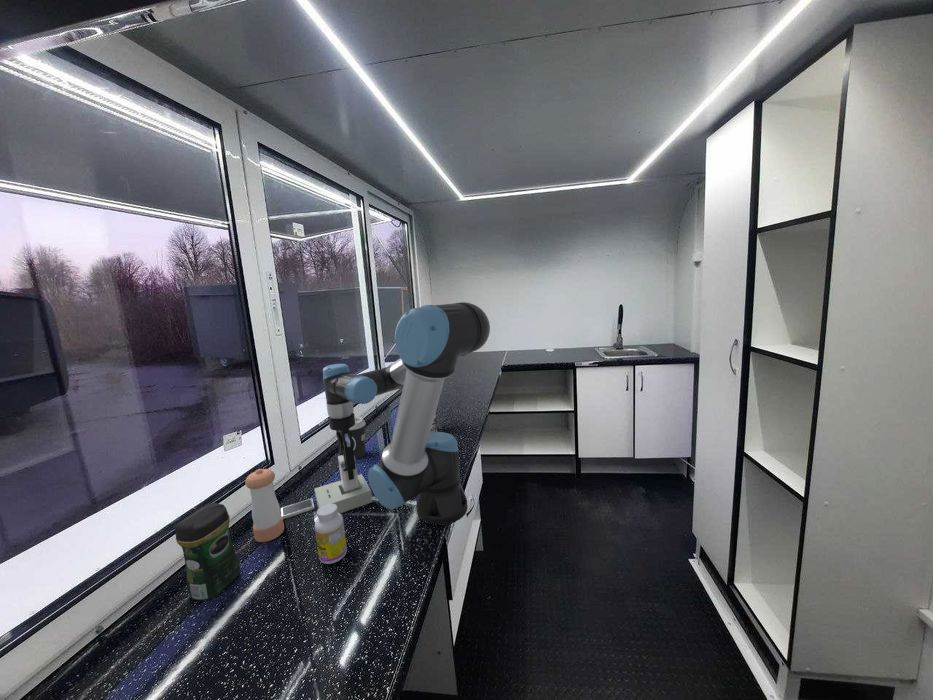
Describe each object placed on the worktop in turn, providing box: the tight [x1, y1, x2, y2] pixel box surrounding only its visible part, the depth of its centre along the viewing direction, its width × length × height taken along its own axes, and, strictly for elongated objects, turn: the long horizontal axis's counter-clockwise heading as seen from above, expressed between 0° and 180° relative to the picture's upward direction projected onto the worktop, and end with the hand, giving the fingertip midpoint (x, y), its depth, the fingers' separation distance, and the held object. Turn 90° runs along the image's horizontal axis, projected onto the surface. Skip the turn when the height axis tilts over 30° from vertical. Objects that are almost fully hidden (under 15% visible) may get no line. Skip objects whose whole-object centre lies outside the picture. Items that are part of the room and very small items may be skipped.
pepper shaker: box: [245, 468, 285, 543], centre depth 96 cm, size 7×7×19 cm
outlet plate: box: [314, 473, 373, 514], centre depth 111 cm, size 15×12×4 cm
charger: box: [337, 455, 359, 492], centre depth 111 cm, size 4×4×10 cm
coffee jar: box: [174, 502, 241, 601], centre depth 79 cm, size 10×8×19 cm
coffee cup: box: [349, 416, 367, 460], centre depth 141 cm, size 10×10×15 cm
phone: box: [280, 497, 316, 520], centre depth 108 cm, size 5×9×1 cm, turn 120°
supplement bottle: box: [314, 504, 348, 565], centre depth 87 cm, size 7×7×13 cm
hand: (350, 484), depth 112 cm, fingers closed on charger, 4 cm apart
